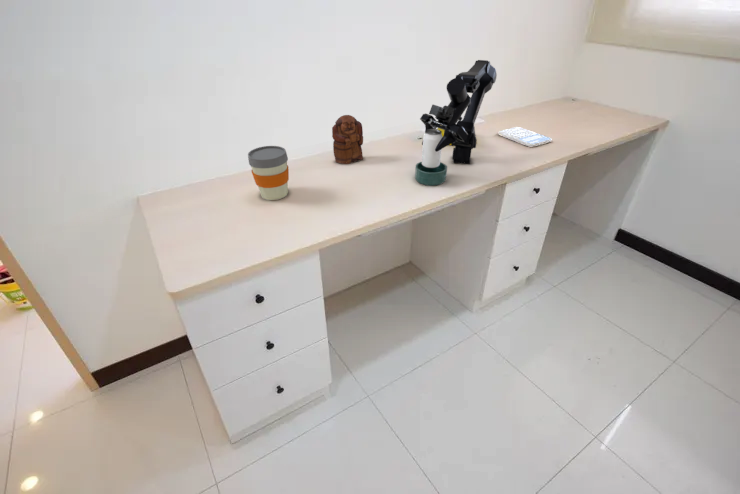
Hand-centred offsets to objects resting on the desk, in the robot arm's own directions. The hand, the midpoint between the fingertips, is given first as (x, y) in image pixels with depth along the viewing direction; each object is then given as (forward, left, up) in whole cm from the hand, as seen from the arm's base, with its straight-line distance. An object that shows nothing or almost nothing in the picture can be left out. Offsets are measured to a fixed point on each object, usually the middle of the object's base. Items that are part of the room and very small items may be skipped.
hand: (429, 147), depth 129 cm
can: (-1, -1, -7) cm, 7 cm away
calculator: (-42, -49, -12) cm, 66 cm away
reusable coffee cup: (+52, +17, -12) cm, 56 cm away
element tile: (-10, -44, -12) cm, 47 cm away
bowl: (-1, -1, -12) cm, 12 cm away
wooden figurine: (+32, -15, -12) cm, 37 cm away
